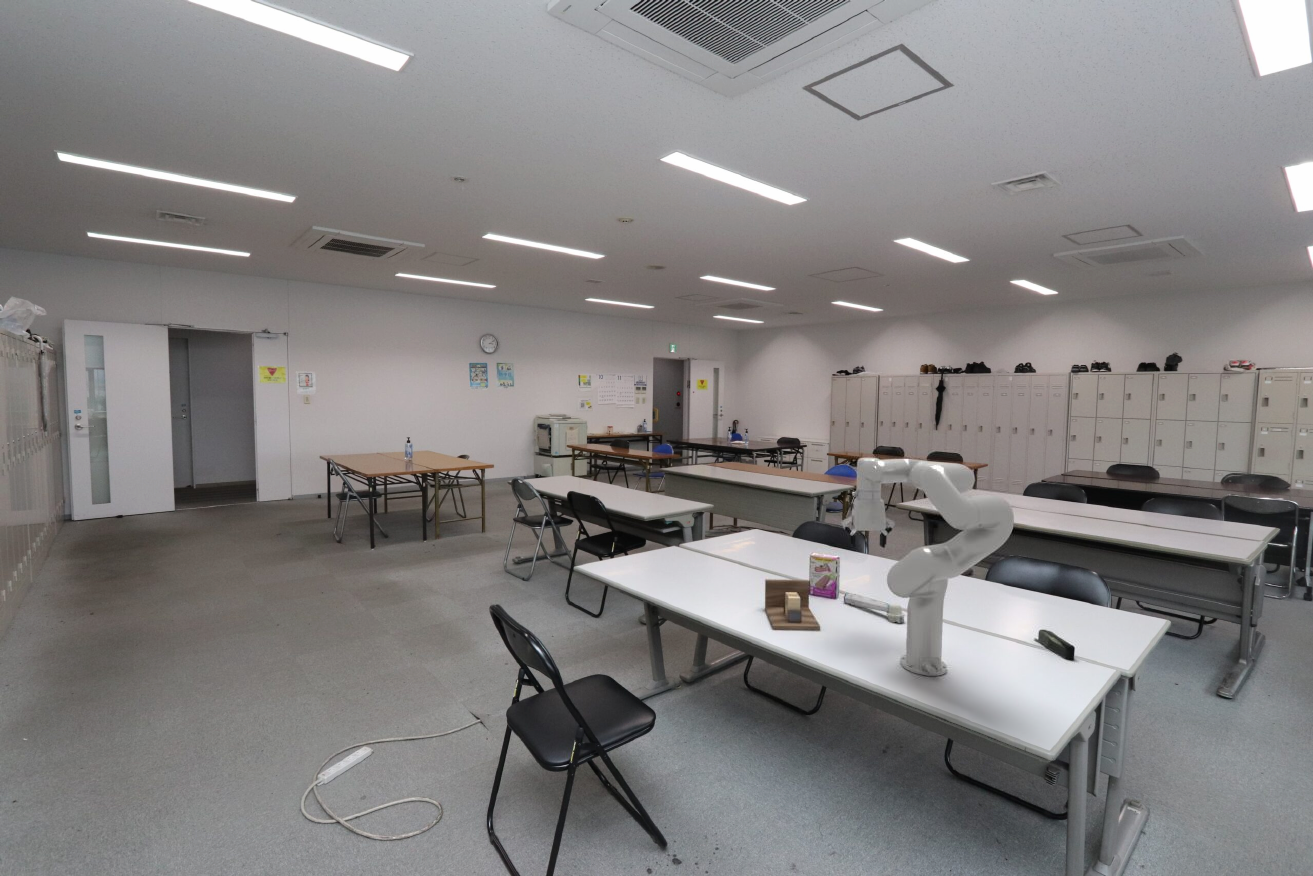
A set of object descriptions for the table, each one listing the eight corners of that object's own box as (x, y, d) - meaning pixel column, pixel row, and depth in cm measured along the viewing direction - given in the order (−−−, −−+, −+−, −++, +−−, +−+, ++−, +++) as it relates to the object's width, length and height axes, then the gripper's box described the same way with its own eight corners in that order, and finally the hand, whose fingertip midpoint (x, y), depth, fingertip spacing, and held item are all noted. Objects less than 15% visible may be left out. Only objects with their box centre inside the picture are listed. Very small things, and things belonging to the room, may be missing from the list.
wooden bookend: (820, 630, 199) (820, 597, 198) (773, 629, 200) (773, 597, 199) (807, 610, 218) (808, 579, 218) (764, 609, 219) (765, 579, 218)
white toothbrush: (851, 591, 228) (906, 602, 206) (852, 609, 227) (908, 621, 206) (841, 594, 225) (897, 604, 204) (843, 611, 225) (898, 624, 203)
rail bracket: (800, 620, 204) (800, 598, 203) (788, 620, 204) (788, 598, 204) (796, 614, 210) (796, 592, 209) (785, 614, 210) (785, 592, 210)
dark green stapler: (1077, 645, 176) (1041, 625, 190) (1067, 646, 175) (1032, 625, 190) (1076, 661, 176) (1040, 640, 191) (1066, 662, 176) (1031, 640, 191)
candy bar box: (808, 595, 235) (809, 555, 234) (811, 591, 239) (812, 552, 238) (836, 599, 229) (837, 558, 228) (839, 596, 234) (840, 556, 233)
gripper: (845, 497, 188) (844, 549, 189) (899, 497, 187) (898, 549, 188) (838, 493, 195) (837, 543, 196) (891, 493, 195) (889, 544, 196)
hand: (867, 546), depth 192 cm, fingers open, 9 cm apart
